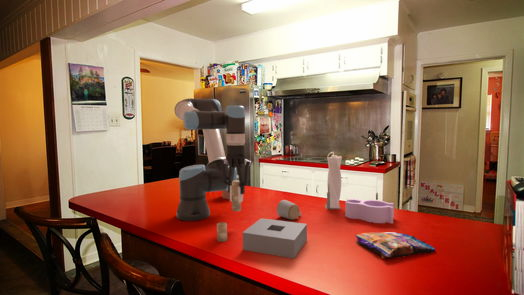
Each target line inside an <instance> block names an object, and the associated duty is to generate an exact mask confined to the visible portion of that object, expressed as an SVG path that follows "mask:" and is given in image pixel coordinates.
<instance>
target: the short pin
mask: <svg viewBox="0 0 524 295" xmlns="http://www.w3.org/2000/svg"><path fill="white" fill-rule="evenodd" d="M227 229H228V224H227V223H226V222H223V221H222V222H218V223H216V241H217V242H219V243H221V242H222V243H223V242H226V241H228V230H227Z"/></svg>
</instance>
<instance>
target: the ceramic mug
mask: <svg viewBox="0 0 524 295" xmlns="http://www.w3.org/2000/svg"><path fill="white" fill-rule="evenodd" d="M276 213H277V215H278V216H279V217H282V218H285V219H288V220H291V221H293V220H296V219H297V218H298V217H301V216H302V212H300V207H299V206H298V204H296V203H294V202H292V201H289V200H286V199H282V200H280V201H279V202H278V203H277V206H276Z"/></svg>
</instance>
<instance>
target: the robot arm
mask: <svg viewBox="0 0 524 295" xmlns="http://www.w3.org/2000/svg"><path fill="white" fill-rule="evenodd" d="M245 111H246V110H245V106H243V105H227V106H226V108H225V111H224V110H223V109H222V105H221V103H220V101H219V100H217V99H215V98H184V99H182V100H179V101H178V102H177V103H176V104H175V106H174V114H175V116H176V118H178V119H179V120H180V121H182V122H183V126H184V127H183V128H184V129H186V130H192V131H194V130H202V133H203V138H204V143H205V147H206V153H207V158H208V163H207V165H205V164H193V165H188V166H184V167H183V168H181V169H180V170H179V175H178V181H179V203H178V206H177V209H176V219H177V220H180V221H187V222H190V221H191V222H192V221H194V222H195V221H201V220H204V219H207V218H208V217H210V216H211V210H210V206H209V204H208V202H207V196H206V195H207V193H213V192H215V193H216V192H222V191H226V190H228V192H229V193H230V199H229V202H231V203H232V181H236V180H237V175H238V176H239V183H240V186H239V187H238V202H239V203H240V202H241V203H243V201H244V195H245V193H246V189H245V188H246V186H248V185H249V184H250V175H251V166H252V163H253V161H252V160H249V159H247V157H246V145H245V143H246V113H245ZM220 130H226V132H225V133H226V136H225V137H226V139H225V140H226V144H227V145H226V152H225V147H224V145H223V140H222V135H221V131H220ZM244 166H245V167H244Z"/></svg>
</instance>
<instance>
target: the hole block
mask: <svg viewBox="0 0 524 295" xmlns="http://www.w3.org/2000/svg"><path fill="white" fill-rule="evenodd" d="M307 230H308V224H307V223H302V222H295V221H287V220H286V221H285V220H277V219H270V218H269V219H268V218H260V219H259V220H257V221H255V223H253V224H252V225H250V226H249V227H248V228H246V229H245V230H244V231H242V250H243V251H249V252H254V253H260V254H267V255H272V256H278V257H282V258H283V257H284V258H289V259H296V257H297V255H298V254H299V253H300V251H301V249H302V248H303V247H304V245H305V244H306V242H307V240H308V231H307Z"/></svg>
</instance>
